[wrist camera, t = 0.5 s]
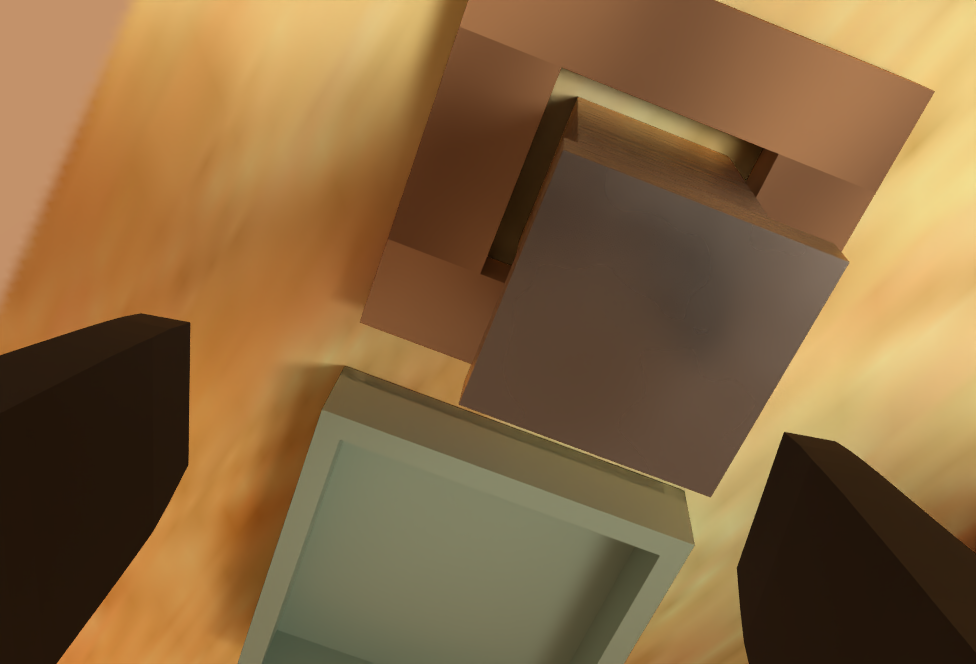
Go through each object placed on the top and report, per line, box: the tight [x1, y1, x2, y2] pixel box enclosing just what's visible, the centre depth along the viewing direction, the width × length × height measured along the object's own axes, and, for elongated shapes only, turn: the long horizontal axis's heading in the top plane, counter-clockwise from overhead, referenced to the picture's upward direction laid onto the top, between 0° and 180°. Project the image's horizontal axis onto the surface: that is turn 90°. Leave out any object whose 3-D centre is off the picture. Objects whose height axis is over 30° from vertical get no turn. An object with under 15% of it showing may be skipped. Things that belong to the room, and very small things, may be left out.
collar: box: [360, 0, 935, 364], centre depth 19 cm, size 9×9×1 cm
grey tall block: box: [459, 97, 849, 497], centre depth 16 cm, size 4×4×7 cm
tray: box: [238, 366, 695, 664], centre depth 23 cm, size 9×9×2 cm
